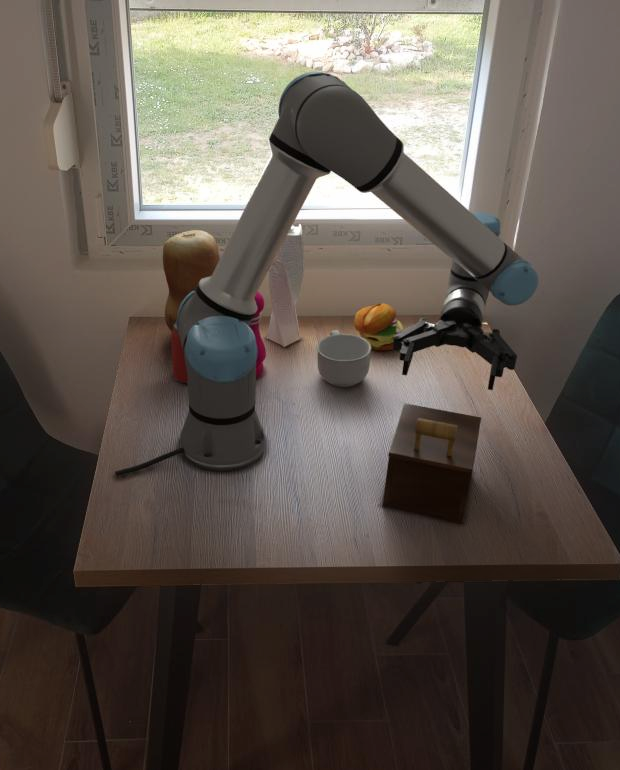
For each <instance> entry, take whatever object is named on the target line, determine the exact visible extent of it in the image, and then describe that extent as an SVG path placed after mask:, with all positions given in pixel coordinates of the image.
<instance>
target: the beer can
mask: <svg viewBox="0 0 620 770" xmlns="http://www.w3.org/2000/svg"><path fill="white" fill-rule="evenodd" d="M173 327H174V328H173V330H172V332H171V335H170V336H171V337H170V338H171V339H170V340H171V358H172V360H171V361H172V363H171V364H172V376H173V378H174V379H175V380H176V381H177V382H179V383H181V384H188V375H187V367H186V363H185V357H184V353H183V349H182V345H181V340H180V336H179V334H178V330H177V321H176V322H175V323H174V325H173Z"/></svg>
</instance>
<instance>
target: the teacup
mask: <svg viewBox="0 0 620 770" xmlns="http://www.w3.org/2000/svg"><path fill="white" fill-rule="evenodd" d="M316 351H317V353H316V354H317V355H316V358H317V360H316V361H317V370H318V373H319V376H320V377H321V378H322V379H323V380H324V381H325V382H327V383H329V384H330V385H332V386H335V387H339V388H349V387H353V386H356V385H357V384H359V383H360V382H362V381H363V380H364V379H365V378H366V377H367V375H368V374H369V369H370V363H371V351H372V348H371V345H370V344H369V342H368V341H367V340H365V339H364V338H362V337H361V336H360V335H355V334H351V333H340V332H339V330H337V329H333V330H331V331H330V333H329V335H328V336H325V337H323V338H321V339H320V340H319V341H318V343H317V344H316Z"/></svg>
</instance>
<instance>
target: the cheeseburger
mask: <svg viewBox="0 0 620 770" xmlns="http://www.w3.org/2000/svg"><path fill="white" fill-rule="evenodd" d="M396 311H397V310H395V309H394V308H393V307H392V306H391V305H389V304H386V303H383V302H382V303H377V304H374V305H370V306H366V307H363V308H361V309H359V310H358V311H357V312H356V314H355V316H354V329H355V330H356V331H357V332H358V334H359V336H360V337H362V338H364V339H365V340H367V341H368V342H369V344H370V345H371V350H372V349H373V350H376V351H389V350H393V340H394V336H395V335H397V334H398V333H400V332H402V331H404V330H405V329H404V327H403V324H402V323H401V322H400V321H399V320H398V319H397V318H396V317H397V312H396Z"/></svg>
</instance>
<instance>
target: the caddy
mask: <svg viewBox="0 0 620 770" xmlns="http://www.w3.org/2000/svg"><path fill="white" fill-rule="evenodd" d="M472 475H473V472H472V473H468V472H463V471H458V470H453V469H448V468H443V467H438V466H433V465H428V464H423V463H418V462H413V461H409V460H404V459H399V458H394V457H389V456H388V461H387V468H386V477H385V483H384V490H383V497H382V508H383V507H384V508H388V509H392V510H397V511H400V512H401V511H402V512H406V513H410V514H414V515H420V516H424V517H428V518H433V519H438V520H442V521H447V522H450V523H456V524H461V525H463V521H464V515H465V511H466V504H467V501H468V496H469V491H470V485H471V480H472Z"/></svg>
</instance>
